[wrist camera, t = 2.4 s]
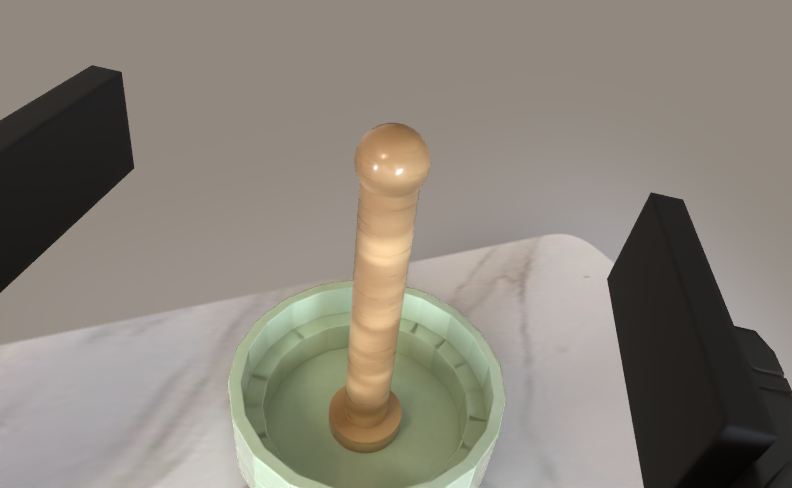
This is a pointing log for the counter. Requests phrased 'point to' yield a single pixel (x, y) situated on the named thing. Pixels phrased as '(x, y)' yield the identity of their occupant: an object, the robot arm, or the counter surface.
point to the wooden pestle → (379, 284)
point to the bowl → (326, 373)
